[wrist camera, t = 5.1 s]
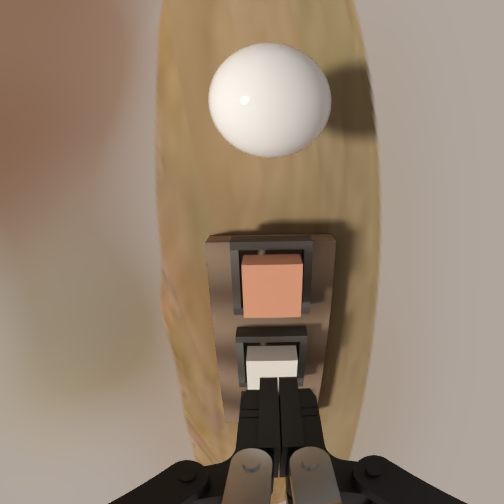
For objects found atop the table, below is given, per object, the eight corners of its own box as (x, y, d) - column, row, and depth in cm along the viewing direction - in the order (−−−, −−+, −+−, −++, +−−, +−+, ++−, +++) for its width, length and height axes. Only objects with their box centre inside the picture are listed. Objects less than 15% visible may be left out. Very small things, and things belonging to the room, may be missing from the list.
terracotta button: (243, 254, 21) (241, 265, 20) (299, 254, 21) (302, 264, 19) (245, 304, 23) (243, 317, 21) (297, 303, 23) (300, 317, 21)
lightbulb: (316, 147, 22) (359, 145, 12) (237, 164, 23) (215, 174, 12) (298, 72, 20) (323, 15, 10) (219, 89, 21) (183, 42, 10)
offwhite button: (247, 345, 24) (246, 361, 22) (295, 345, 24) (297, 360, 22) (249, 380, 25) (248, 395, 23) (293, 379, 25) (294, 394, 23)
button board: (209, 230, 25) (201, 243, 21) (330, 228, 24) (341, 240, 21) (227, 412, 32) (224, 434, 28) (312, 411, 31) (315, 433, 28)
